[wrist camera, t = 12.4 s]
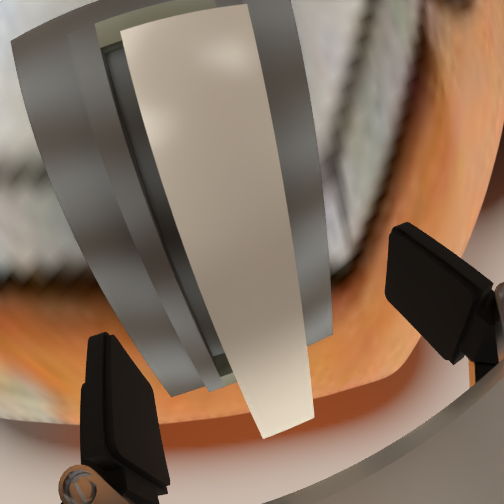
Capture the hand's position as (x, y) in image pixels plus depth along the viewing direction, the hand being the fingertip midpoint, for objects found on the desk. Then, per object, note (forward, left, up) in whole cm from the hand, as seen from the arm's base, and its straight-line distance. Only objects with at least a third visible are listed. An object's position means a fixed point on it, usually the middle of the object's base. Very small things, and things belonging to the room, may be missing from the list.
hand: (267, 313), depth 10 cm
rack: (0, 0, -10) cm, 10 cm away
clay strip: (0, 0, -9) cm, 9 cm away
